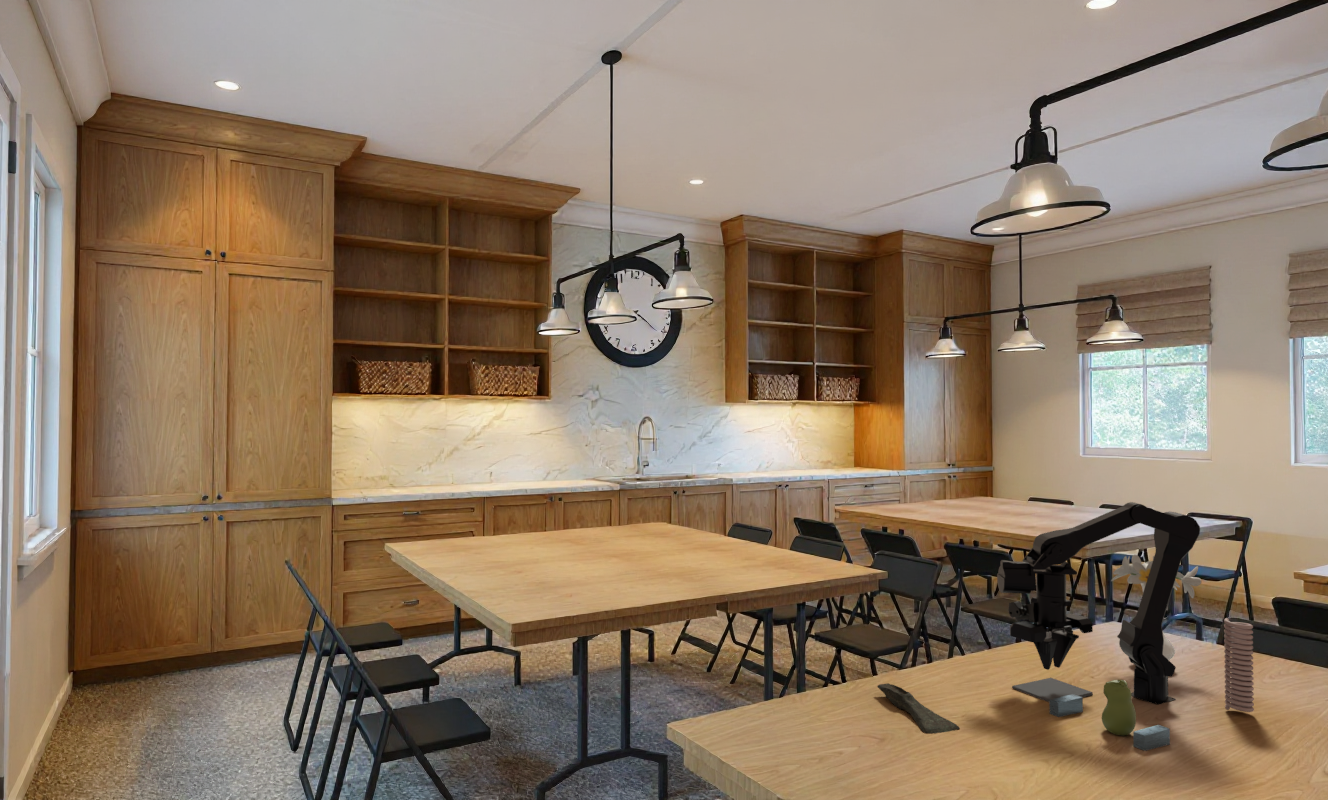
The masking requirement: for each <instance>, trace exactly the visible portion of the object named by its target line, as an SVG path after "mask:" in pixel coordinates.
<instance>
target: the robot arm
mask: <svg viewBox="0 0 1328 800" xmlns="http://www.w3.org/2000/svg"><path fill="white" fill-rule="evenodd" d="M1139 524H1141V525H1145V526H1147V527H1150V528H1153V529H1154V531H1153V541H1154V547H1155V553H1154V555H1153V556H1154V559H1153V558H1152V561H1153V563H1152V566H1151V569H1150V572H1149V576H1148V579H1147V582H1146V586H1145V589H1144V592H1143V591H1142V597H1141V599H1140V603H1139V606H1138V609H1137V612H1136V615H1135V616H1134V617H1133V619H1131V620H1130V621H1128V620H1126V619H1123V620H1122V622H1121V629H1120V632H1118V635H1117V636H1116V637H1117V638H1118V640H1119V641H1118V643H1119V648H1120V649H1121V651H1122V653H1123V654H1125V655H1126V656H1128V659H1129V662H1130V663H1131V664H1133V665H1134V669H1133V692H1132V691H1131V694H1132V698H1135V699H1137V700H1141V701H1145V702H1147V703H1149V704H1153V705H1157V706H1158V705H1162V704H1166V703H1171V702H1173V701H1176V700H1177V699H1176V698H1175V697H1171V696H1169V677H1171V678H1172V677H1173V676H1174V674H1175V671H1176V669H1177V668H1176V666H1175V665H1174V664H1173V662H1171V660H1168V659H1167V658H1166V657H1165V656H1164V655H1163V645H1164V638H1163V633H1164V631H1163V621H1164V618H1165V615H1166V612H1167V609H1168V605H1169V602H1170V599H1171V595H1172V593H1173V592H1172V591H1173V589H1174V588H1173V586H1174V583H1175V581H1176V580H1177V579H1176V576H1177V573H1178V572H1179V568H1180V566H1181V563H1182V560H1183V558H1185V557H1186V555H1187V554H1188V553H1190V551H1191V550H1192V549H1193V547H1194V545H1195V544H1196V542H1197V540H1198V538H1199V537H1200V534H1201V526H1200V525H1199V523H1198V522H1197V520H1196V519H1195V518H1194V517H1192V516H1189V515H1187V514H1182V513H1178V512H1176V511H1165V512H1162V511H1160V510H1155V509H1153V508H1150V507H1148V506H1146V505H1144V504H1141V503H1138V502H1133V501H1130V502H1127V503H1125V504H1124V505H1122V506H1120V507H1118V508H1115V509H1113V510H1111V511H1109V512H1106V513H1104V514H1101V515H1099V516H1097V517H1094V518H1092V519H1090V520H1088V521H1086V522H1083V523H1080V524H1077V525H1075V526H1073V527H1069V528H1064V529H1063V528H1062V529H1055V530H1052V531H1047V532H1043V533H1040V534H1038V535H1036V537H1035V538H1034V539H1033V544H1032V548H1031V549H1030V550H1029V552H1028V553H1027V554H1026V555H1025V556H1024V558H1023V559H1022V561H1014V560H1013V561H1012V560H1011V561H1010V560H1005V559H1001V560H1000V565H999V567H998V570H997V571H998V573H996V577H997V578H996V579H997V587H998V590H999V592H1000V593H1001V594H1003V593H1004V594H1027V595H1028V594H1031V592H1034V591H1036V595H1035V596H1032V597H1031V599H1030V603H1029V604H1028V603H1027V604H1022V603H1021V601H1013V602H1008V614H1009V616H1010V617H1011V618H1012V619H1013V618H1014V619H1015V622H1012V623H1011V624H1010V625H1009V636H1010V637H1014V638H1016V639H1019V640H1023V641H1026V642H1028V643H1033V645H1034V647H1035V649H1036V650H1037V653H1038V656H1039V658H1040V659H1039V660H1040V661H1041V664H1042V667H1043V669H1044V670H1047V671H1049V670H1050V668H1051V666H1052V663H1053V666H1054V667H1055V668H1060V667H1062V664H1063V662H1064V660H1065V659H1066V657H1067V655H1068V653H1069V651H1070V649H1071V648H1072V646H1073V645H1074V644H1075V642H1076V640H1078V639H1080V638H1079V637H1080V635H1079V634H1075V633H1074V630H1073V629H1079V630H1080V633H1082V634H1088V633H1093V631H1094V630H1093V622H1092V621H1091V619H1090V618H1089V617H1086V616H1082V615H1078V614H1074V613H1067V607H1069V606H1070V607H1071V606H1072V600H1070V599H1067V575H1070V576H1071V575H1072V576H1074V575H1075V576H1076V575H1077V574H1078V571H1077V570H1075V569H1074V568H1072V566H1071V564H1070V563H1069V562H1067V561H1068V560H1070V559H1071V558H1073V557H1074V556H1076V555H1077V554H1078V553H1079V552H1080V551H1081V550H1082V549H1084V548H1085V547H1087V546H1088V545H1091V544H1093V543H1095V542H1098V541H1100V540H1102V539H1104V538H1107V537H1109V536H1111V535H1114V534H1117V533H1119V532H1122V531H1124V530H1126V529H1129V528H1131V527H1133V526H1135V525H1139ZM1035 589H1036V590H1035ZM1022 620H1023V621H1022ZM1026 620H1027V621H1026Z"/></svg>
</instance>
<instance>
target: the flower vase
mask: <svg viewBox="0 0 1328 800" xmlns="http://www.w3.org/2000/svg"><path fill="white" fill-rule="evenodd" d="M1154 556H1155V555H1153V556H1152V560H1149V561H1146V562H1145V561H1144V563H1143V562H1142V560H1141V558H1140V556H1139V555H1137V554H1134V555H1132V557H1131V563H1130V556H1127V555H1125V556H1124V557H1123V559H1122V563H1121V565H1120V566H1119V567H1118V568H1116V569H1114V571H1113V573H1112V574H1113V575H1114V577H1113V578H1111V580H1110V582H1113V581H1115V580H1117V579H1119V578H1121V577H1124V576H1127V575H1129V576H1128V577H1127V583H1128V584H1134V585H1139V584H1140V586H1141V588H1142V593H1143V592H1144V589H1145V586H1146V582H1147V579H1148V576H1149V572H1150V569H1151V566H1152V563H1153V559H1154ZM1127 557H1128V558H1127ZM1198 570H1199V566H1198V565H1197V566H1195V567H1194V568H1193V569H1192V570H1191V571H1187V572H1186V574H1185V575H1184V574H1182V573H1181V572H1179V571H1178V573H1177V576H1176V579H1175V583H1174V586H1173V589H1174V590H1176V591H1178V588H1181V585H1179V583H1178V581H1177V580H1179V581H1181V582H1182V586H1183V592H1184V594H1187V593H1188V594H1189V596H1190V598H1191V599H1194V598H1195V590H1194V587H1198V586H1200V585H1201V584H1202V579H1201V578H1200V577H1195V576H1196V575H1197V573H1198ZM1163 638H1164V645H1163V655H1164V656H1165V657H1166V658H1167V659H1168V660H1169V661H1171V660H1172V659H1173V658H1174V657H1175V654H1176V649H1175V646H1174V645H1173V643H1172V642H1171V640H1170V639H1169V638H1167V636H1166V635H1165V633H1164V632H1163Z"/></svg>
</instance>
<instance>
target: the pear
mask: <svg viewBox="0 0 1328 800" xmlns="http://www.w3.org/2000/svg"><path fill="white" fill-rule="evenodd" d="M1128 686H1129V685H1128V682H1127V681H1126V680H1124V679H1113V680H1108V681H1106V682H1105V683H1104V685H1103V694H1104V696H1105V698H1106V699H1107V701H1106V705H1105V707H1104V709H1103V711H1102V713H1101V722H1102V724H1103V726H1104V728H1105V730H1107V731H1108V732H1110V733H1111V734H1114V735H1115V736H1121V737H1122V736H1128V735H1130V734H1131V733H1133V732H1134V731H1135V728H1136V724H1137V723H1136V722H1137V713H1136V710H1135V709H1136V708H1135V705H1134V703H1133V701H1132V699H1133V697H1132V694H1131V693H1132V691H1131V688H1129V687H1128Z"/></svg>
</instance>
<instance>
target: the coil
mask: <svg viewBox="0 0 1328 800" xmlns="http://www.w3.org/2000/svg"><path fill="white" fill-rule="evenodd" d="M1223 622H1224V624H1223V628H1225V629H1224V630H1223V632H1224V635H1223V637H1224V640H1223V642H1224V646H1223V647H1224V651H1223V652H1224V655H1223V657H1224V676H1223V677H1224V678H1225V679H1224V689H1225V690H1224V698H1225V700H1224V703H1225V706H1224V708H1225V710H1226V711H1230V709H1233V710H1236V711H1240V712H1245V713H1252V712H1254V711H1255V708H1254V705H1255V704H1254V700H1255V699H1254V697H1253V696H1254V695H1255V693H1254V687H1253V686H1254V685H1255V683H1254V682H1253V680H1254V676H1253V675H1254V671H1253V670H1254V666H1253V665H1254V661H1253V660H1254V657H1253V654H1254V651H1253V649H1254V646H1253V644H1254V641H1253V639H1254V636H1253V635H1252V634H1254V631H1253V630H1252V629H1253V628H1254V625H1252V624H1251V623H1247V622H1239V621H1230V619H1229V618H1228V617H1226V618H1224V619H1223Z"/></svg>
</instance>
